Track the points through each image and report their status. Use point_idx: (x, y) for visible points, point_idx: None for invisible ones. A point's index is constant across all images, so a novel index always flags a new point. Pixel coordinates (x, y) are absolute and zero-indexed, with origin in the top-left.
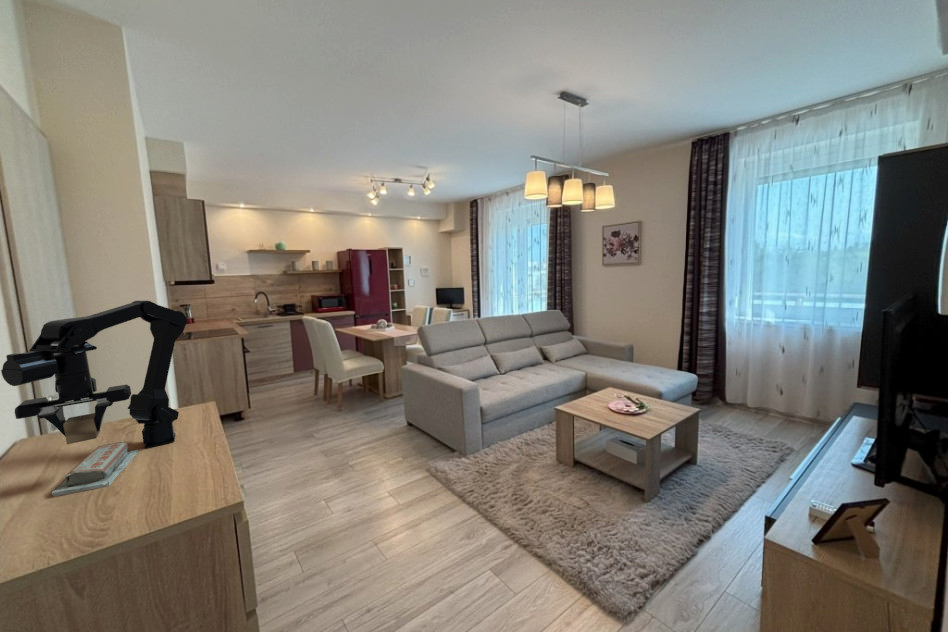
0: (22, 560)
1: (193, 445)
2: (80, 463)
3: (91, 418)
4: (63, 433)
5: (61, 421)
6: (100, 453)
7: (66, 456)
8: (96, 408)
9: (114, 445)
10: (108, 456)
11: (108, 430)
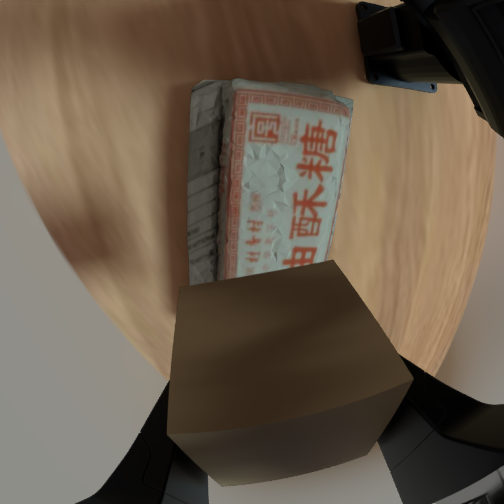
0: None
1: (464, 164)
2: None
3: (361, 453)
4: None
5: (204, 496)
6: (278, 212)
7: (91, 7)
8: (409, 501)
9: (313, 133)
10: (313, 254)
11: None
